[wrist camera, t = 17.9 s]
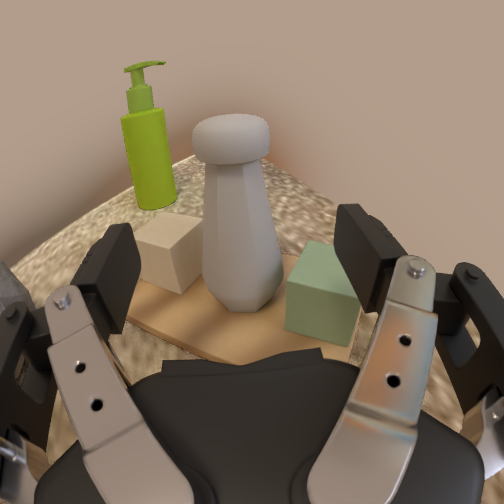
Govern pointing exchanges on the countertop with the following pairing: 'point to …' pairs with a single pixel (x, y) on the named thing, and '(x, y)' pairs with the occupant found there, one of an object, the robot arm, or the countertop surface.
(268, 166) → the countertop surface
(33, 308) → the potted plant
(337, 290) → the sage green cube
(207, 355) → the wood board
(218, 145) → the salt shaker
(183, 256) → the beige matte cube
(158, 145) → the soap dispenser
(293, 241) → the countertop surface
